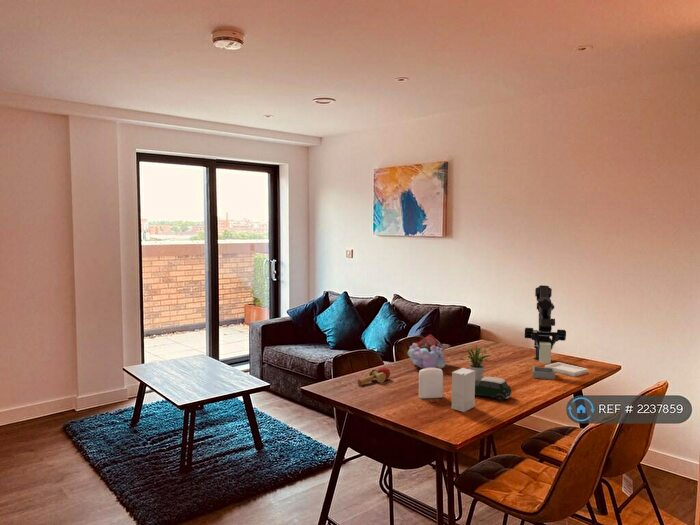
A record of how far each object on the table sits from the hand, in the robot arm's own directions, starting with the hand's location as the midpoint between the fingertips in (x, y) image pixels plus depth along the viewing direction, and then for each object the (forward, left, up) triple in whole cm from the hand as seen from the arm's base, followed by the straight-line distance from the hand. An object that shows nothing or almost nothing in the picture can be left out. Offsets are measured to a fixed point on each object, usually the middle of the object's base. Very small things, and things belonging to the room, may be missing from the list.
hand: (545, 348), depth 241 cm
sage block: (-1, +1, -7) cm, 7 cm away
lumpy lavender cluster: (-45, -33, -14) cm, 58 cm away
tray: (0, +18, -13) cm, 22 cm away
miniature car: (+5, -45, -14) cm, 48 cm away
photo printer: (-8, -66, -14) cm, 68 cm away
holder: (-1, +1, -13) cm, 14 cm away
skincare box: (+9, -65, -14) cm, 67 cm away
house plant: (-15, -31, -14) cm, 37 cm away
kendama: (-39, -73, -14) cm, 83 cm away
